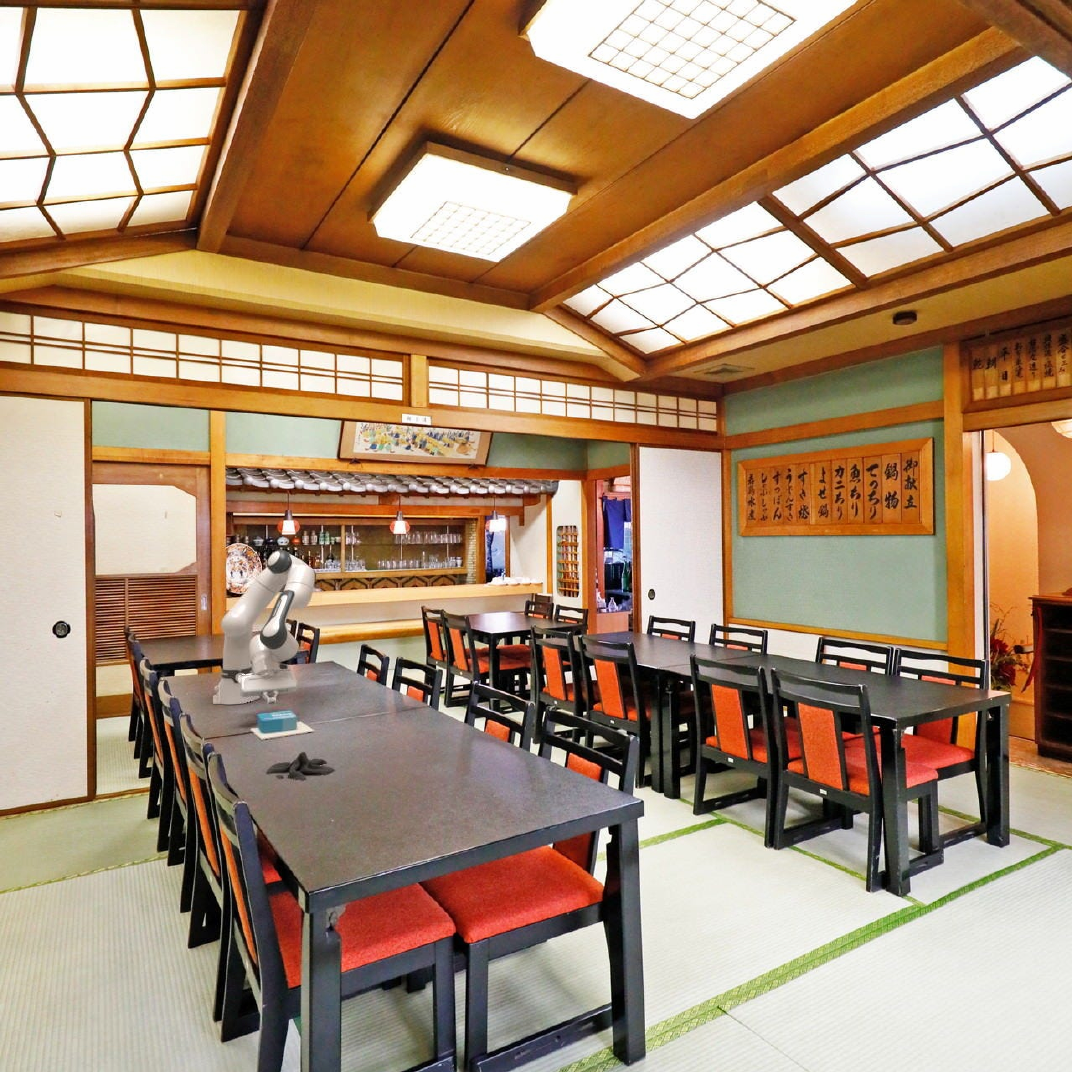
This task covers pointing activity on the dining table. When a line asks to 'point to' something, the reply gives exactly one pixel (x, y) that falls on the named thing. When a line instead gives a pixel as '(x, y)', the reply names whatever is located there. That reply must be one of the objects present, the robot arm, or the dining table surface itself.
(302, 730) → the pale mat
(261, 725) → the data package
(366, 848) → the dining table surface
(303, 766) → the cloth
